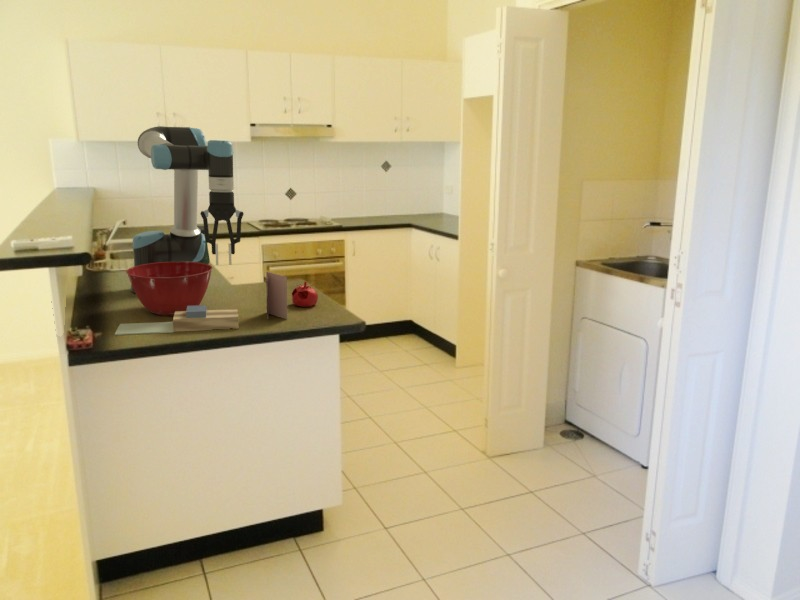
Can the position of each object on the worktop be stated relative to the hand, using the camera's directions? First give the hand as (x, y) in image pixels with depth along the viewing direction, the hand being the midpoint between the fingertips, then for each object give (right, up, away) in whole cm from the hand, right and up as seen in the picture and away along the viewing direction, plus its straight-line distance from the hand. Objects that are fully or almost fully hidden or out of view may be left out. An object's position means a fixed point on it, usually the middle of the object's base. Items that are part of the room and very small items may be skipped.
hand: (223, 264), depth 203 cm
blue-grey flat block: (-9, -16, +1) cm, 19 cm away
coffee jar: (-41, +6, +104) cm, 112 cm away
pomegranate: (+21, -14, +34) cm, 42 cm away
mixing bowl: (-24, -16, +20) cm, 35 cm away
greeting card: (+13, -18, +17) cm, 28 cm away
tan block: (-7, -20, +3) cm, 21 cm away
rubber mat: (-24, -21, -2) cm, 32 cm away
